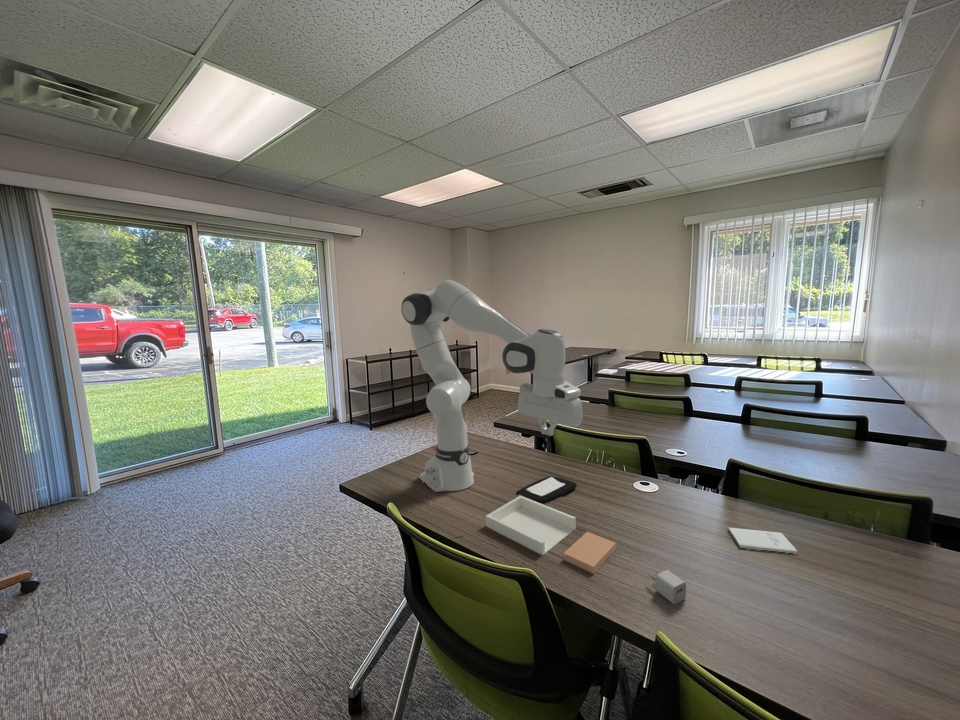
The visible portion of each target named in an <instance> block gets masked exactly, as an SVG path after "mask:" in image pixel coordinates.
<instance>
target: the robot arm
mask: <svg viewBox="0 0 960 720" xmlns="http://www.w3.org/2000/svg"><path fill="white" fill-rule="evenodd" d="M401 314H402V316H403V319H404V321H406V322H407V323H408V324H409V325H410V326H409V327H410V334H411V337H412V342H413V347H414V349H415V351H416V354H417V356H418V359H419V362H420V364H421V366H422V369H423V370H424V372H425V373H426V374H428V376H429V377H430V378H431V380H432V381H433V382H434V384H435V385H434V386H433V387H432V388H431V389H430V391H429V392H428V393H427V396H426V399H425V402H426V403H425V404H426V407H427V408H428V410H429V412H430V413H431V414H432V416H433V419H434V423H435V428H436V437H437V438H436V439H437V445H436V446H434V447H433V451H435V454H434V456H432V457H431V458H430V459H429V460H428V461H427V462H425V466H424V471H423V472H422V473H420V474H419V476H418V479H419V478H420V479H421V480H422V481H421V480H420V479H419V480H420V481H421V482H422V483H424V482H425V483H426V484H427V485H426V484H425V483H424V484H425V485H426V486H428V487H429V488H430V489H431V490H432V491H433V492H436V493H437V492H438V493H440V492H456V491H457V492H458V491H461V490H465V489H467V488H470V487H472V485H474V483H475V479H474V476H475V472H474V471H473V466H472V459H471V457H470V444H469V443H468V427H467V423H466V422H465V420H464V416H463V412H462V405H463V404H465V403H467V401H468V399H469V397H470V395H471V385H470V383H469V382H468V380H467V379H466V378H464V376H463V374H462V373H461V372H460V370H459V368H458V366H457V365H456V363H455V361H454V359H453V357H452V354H451V353H450V349H449V346H448V345H447V342H446V339H445V337H444V335H443V331H442V329H441V324H442V322H448V321H449V320H451V321H452V322H453V323H454V324H456V325H457V326H458V327H460V328H462V329H464V330H465V331H469V332H474V333H475V332H476V333H477V332H478V333H485V334H490V335H493V336H496V337H499V338H500V339H501V340H503V341H504V342H505V343H507V344H506V345H505V347H504V349H503V350H502V363H503V365H504V367H505V368H506V369H507V371H509V372H510V373H512V374H525V373H531V374H532V383H527V382H526V383H523V384H520V386H519V394H518V398H517V399H518V400H517V411H518V413H519V414H520V415H524V416H528V417H532V418H536V419H538V423H539V426H540V428H541V434H542V435H546V436H550V437H551V436H553V435H554V434H555V433H554V432H555V431H554V430H555V428H556V427H557V425H558V424H561V425H565V426H568V427H572V428H575V427H577V426H580V425H581V424H582V422H583V419H584V418H583V403H582V400H581V399H580V398H579V397H580V396H581V394H582V390H581V389H580V388H579V387H577V386H575V385H574V384H571V383H569V381H567V380H566V375H565V371H564V370H565V365H566V344H565V338H564V335H563V334H562V333H561V332H559V331H557V330H551V329H546V328H545V329H544V328H541V329H538V330H535V332H534V333H532V334H529V332H526V331H525V330H524V329H523V328H522V327H519V326H518V325H517V324H515V323H514V322H513V321H511V320H509V319H508V318H506V317H505V316H503V315H502V314H500V313H499V312H498V311H497V310H495V309H494V308H493V307H491V306H490V305H489V304H487V303H486V302H485V301H484V300H483V299H482V298H480V297H479V296H478V295H476V294H475V293H474V292H473V291H471V290H470V289H469V288H467V287H465V286H464V285H462V284H461V283H459V282H457V281H455V280H453V279H445V280H443V281H441V282H440V283H438V285H437V286H436V287H435V288H432V289H431V288H430V289H426V290H424V291H420V292H417V293H416V292H414V293H411V294H409V295H406V297H404V299H403V300H402V302H401ZM546 422H548V424H549V427H548V425H547V423H546Z"/></svg>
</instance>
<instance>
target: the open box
mask: <svg viewBox="0 0 960 720" xmlns="http://www.w3.org/2000/svg"><path fill="white" fill-rule="evenodd" d="M576 520H577V517H576V516H573V515H571V514H568V513H566V512H563V511H561V510H558V509H557V508H556V509H555V508H553V507H551V506H548V505H546V504H541V503H538V502H536V501H533V500H531V499H528V498H526V497H524V496H522V495H520V494H519V496H517V497H515V498H514V499H512V500H510V501H508V502H507V503H504V504H503V505H502V506H500V507H498V508H497V509H495V510H493V511H492V512H490V513H488V514H486V515H485V526H486V527H487V528H489V529H491V530H492V531H495V532H496V533H498V534H500V535H501V536H504V537H506V538H508V539H510V540H513V541H514V542H516V543H517V544H520V545H522V546H524V547H526V548H527V549H530V550H532V552H533V551H534V552H535V553H538V554H539V555H541V556H543V555H545V554H546V553H548V551H550V550H551V549H552V548H554V546H556V545H557V544H558V543H560V542H561V541H562V540H563V539H565V538H566V537H567V536H568V535H569V534H570V533H572V532H573V531H574V530H576V528H577V521H576Z"/></svg>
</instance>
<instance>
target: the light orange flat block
mask: <svg viewBox="0 0 960 720" xmlns="http://www.w3.org/2000/svg"><path fill="white" fill-rule="evenodd" d="M616 550H617V543H616V542H615V541H612V540H610V539H607V538H604V537H602V536H600V535H597V534H595V533H593V532H590V531H586V532H585V533H584V534H583V535H582V536H581V537H580V538H578V539H577V540H576V541H575V542H574V543H572V545H570V546H569V547H568V548H567V549H566V550H565V551H564V552H563V560H564V561H566V562H568V563H570V564H572V565H574V566H576V567H578V568H580V569H583V570H585V571H587V572H589V573H591V574H593V575H594V574H595V573H596V572H597V571H598V570H599V569H600V568H601V567H602V565H604V563H605V562H606V561H607V560H608V559H609V558H610V556H612V555H613V554H614V552H615V551H616Z"/></svg>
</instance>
